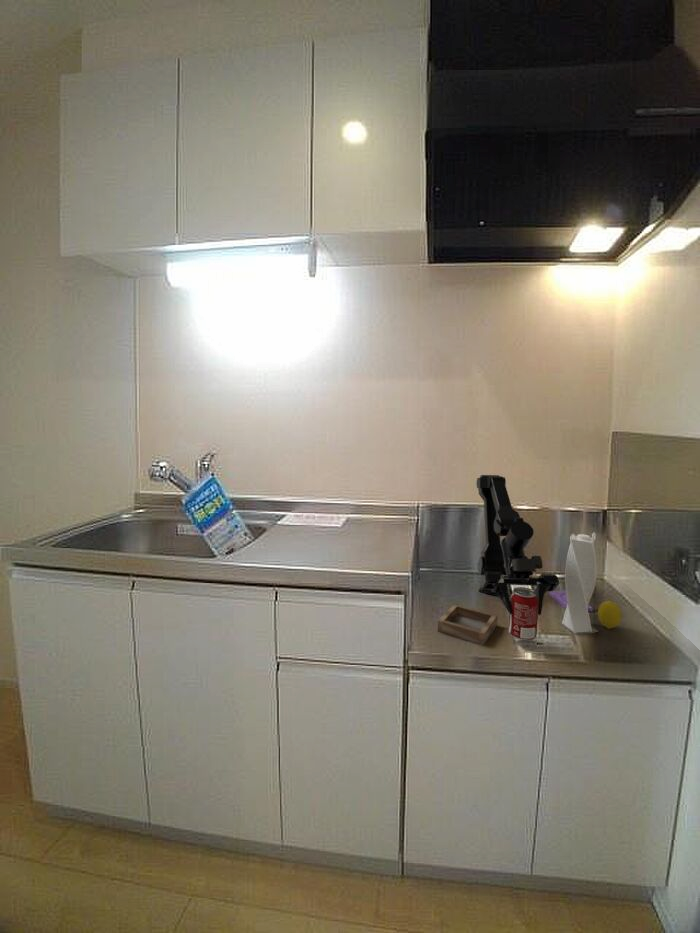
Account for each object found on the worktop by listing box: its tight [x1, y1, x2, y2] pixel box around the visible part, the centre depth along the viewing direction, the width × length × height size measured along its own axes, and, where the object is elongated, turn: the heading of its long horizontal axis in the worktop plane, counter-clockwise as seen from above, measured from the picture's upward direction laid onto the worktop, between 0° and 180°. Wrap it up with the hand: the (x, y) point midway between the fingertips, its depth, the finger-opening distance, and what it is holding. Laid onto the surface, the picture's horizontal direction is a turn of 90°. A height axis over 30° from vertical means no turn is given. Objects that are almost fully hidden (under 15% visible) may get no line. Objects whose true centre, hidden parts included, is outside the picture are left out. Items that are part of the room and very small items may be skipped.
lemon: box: [597, 600, 622, 629], centre depth 117 cm, size 6×6×8 cm
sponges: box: [548, 590, 593, 612], centre depth 133 cm, size 7×13×2 cm, turn 3°
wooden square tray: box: [437, 603, 498, 646], centre depth 117 cm, size 12×12×3 cm
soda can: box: [507, 586, 539, 642], centre depth 109 cm, size 7×7×12 cm
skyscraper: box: [557, 531, 599, 635], centre depth 116 cm, size 8×8×28 cm
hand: (525, 614), depth 108 cm, fingers closed on soda can, 7 cm apart
